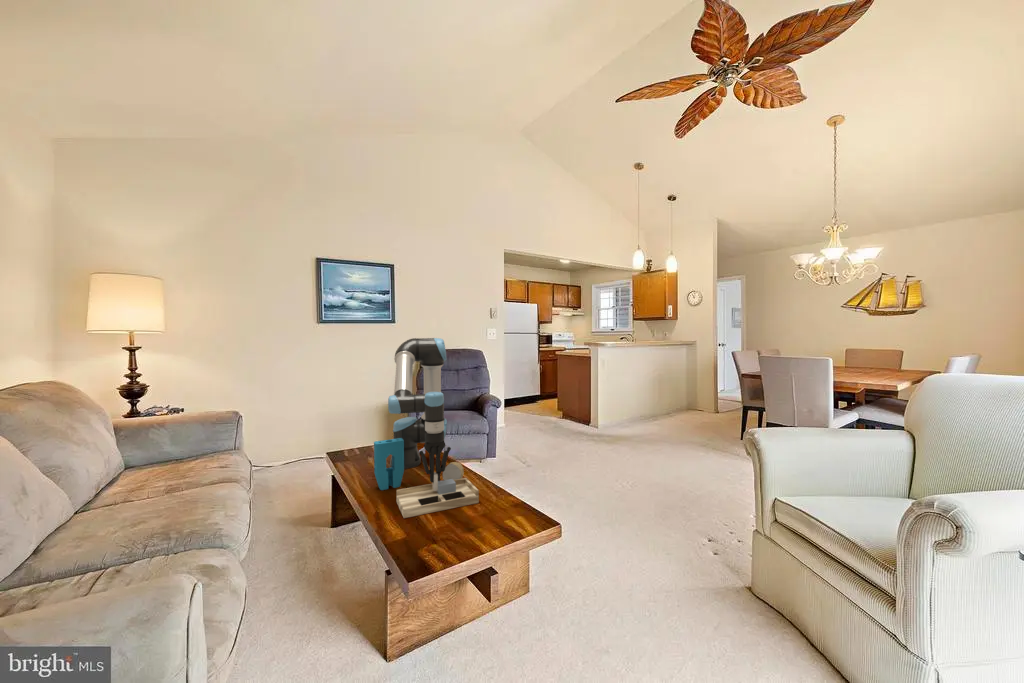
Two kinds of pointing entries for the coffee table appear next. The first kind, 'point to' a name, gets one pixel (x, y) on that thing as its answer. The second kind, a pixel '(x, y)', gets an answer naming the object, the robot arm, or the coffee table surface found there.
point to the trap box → (435, 498)
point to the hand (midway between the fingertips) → (435, 489)
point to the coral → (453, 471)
